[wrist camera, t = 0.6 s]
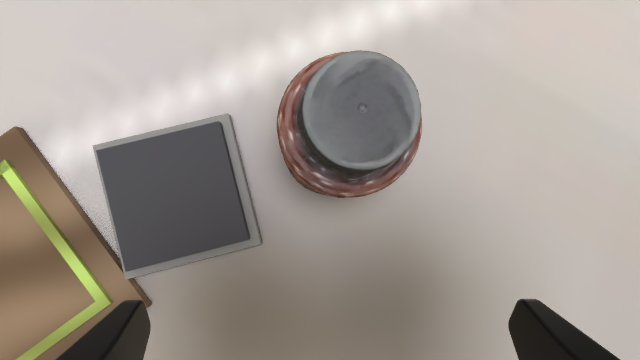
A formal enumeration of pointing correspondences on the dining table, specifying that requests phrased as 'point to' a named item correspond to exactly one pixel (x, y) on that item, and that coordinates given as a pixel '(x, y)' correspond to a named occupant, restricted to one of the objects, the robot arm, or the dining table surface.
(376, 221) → the dining table surface
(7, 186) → the board
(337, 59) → the supplement bottle
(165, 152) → the pad
